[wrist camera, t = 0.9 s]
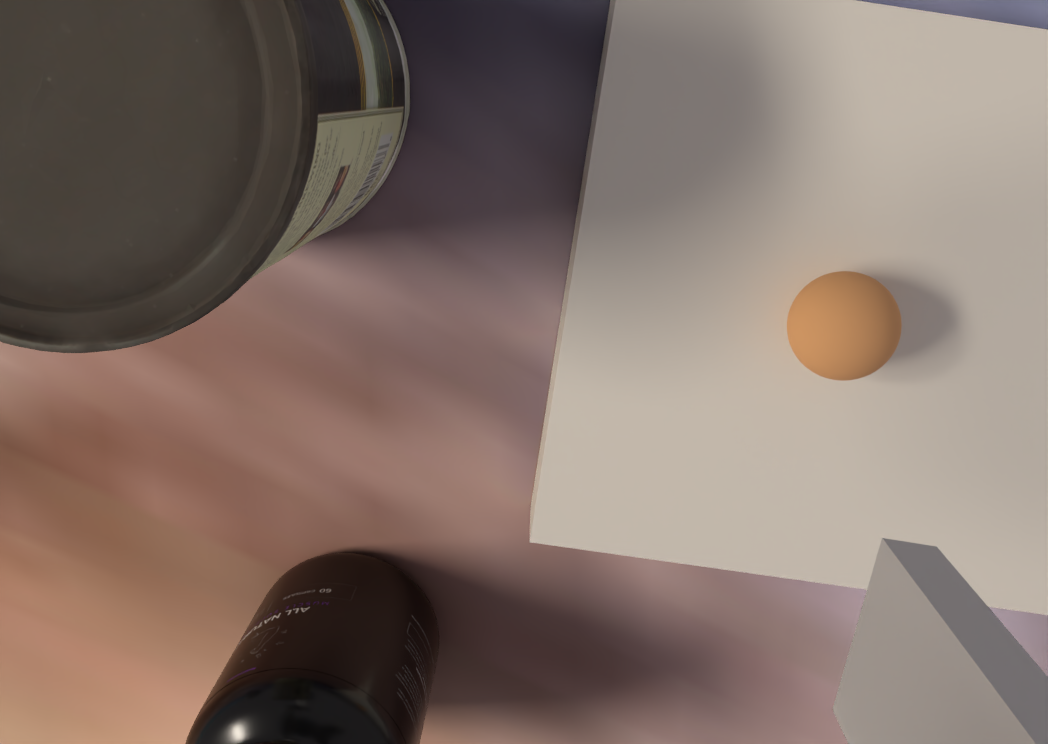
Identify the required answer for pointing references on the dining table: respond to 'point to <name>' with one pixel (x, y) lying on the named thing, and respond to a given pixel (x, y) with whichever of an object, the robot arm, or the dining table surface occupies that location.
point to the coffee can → (179, 153)
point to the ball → (844, 325)
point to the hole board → (783, 271)
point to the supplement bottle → (328, 660)
